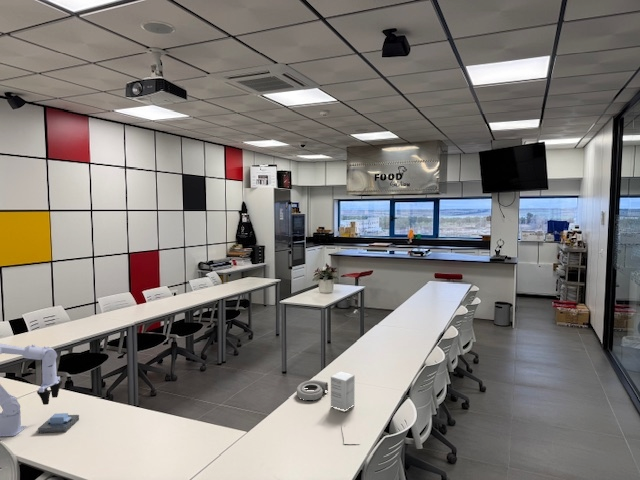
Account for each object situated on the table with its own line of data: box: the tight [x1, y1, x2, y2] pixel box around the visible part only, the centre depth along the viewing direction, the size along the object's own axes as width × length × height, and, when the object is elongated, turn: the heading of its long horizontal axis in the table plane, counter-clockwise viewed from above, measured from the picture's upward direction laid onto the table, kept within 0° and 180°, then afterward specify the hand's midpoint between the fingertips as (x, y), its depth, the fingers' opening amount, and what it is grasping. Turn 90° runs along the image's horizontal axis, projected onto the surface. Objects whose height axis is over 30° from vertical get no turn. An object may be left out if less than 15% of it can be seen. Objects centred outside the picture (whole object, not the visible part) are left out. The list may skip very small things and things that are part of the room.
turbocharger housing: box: [296, 379, 329, 401], centre depth 231 cm, size 17×6×15 cm
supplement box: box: [330, 371, 355, 410], centre depth 216 cm, size 10×9×17 cm
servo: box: [46, 412, 71, 424], centre depth 196 cm, size 9×4×5 cm, turn 94°
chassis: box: [37, 414, 80, 434], centre depth 196 cm, size 12×12×2 cm
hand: (50, 400), depth 201 cm, fingers open, 7 cm apart
